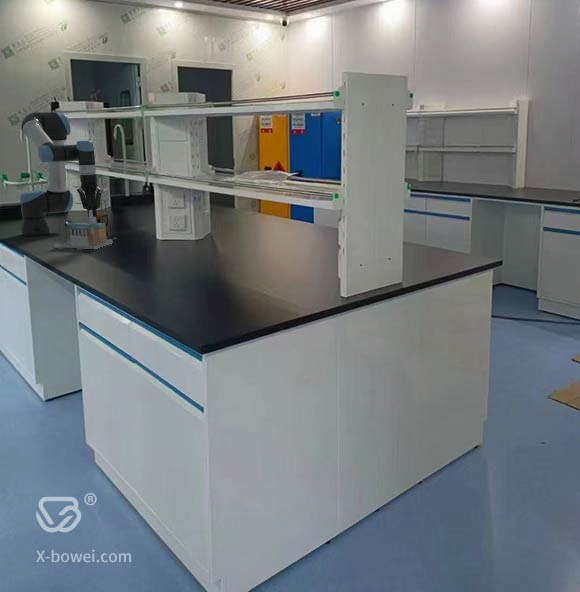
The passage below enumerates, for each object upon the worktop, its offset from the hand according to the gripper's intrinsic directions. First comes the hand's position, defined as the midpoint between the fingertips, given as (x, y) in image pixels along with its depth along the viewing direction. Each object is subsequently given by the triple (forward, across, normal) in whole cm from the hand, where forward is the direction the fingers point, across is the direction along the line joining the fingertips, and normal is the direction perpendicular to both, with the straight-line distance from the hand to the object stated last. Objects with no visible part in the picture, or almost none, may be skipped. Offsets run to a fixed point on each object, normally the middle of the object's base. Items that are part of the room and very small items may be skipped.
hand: (93, 223), depth 302 cm
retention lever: (+2, -6, 0) cm, 6 cm away
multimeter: (+12, -4, +21) cm, 25 cm away
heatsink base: (+11, -6, 0) cm, 13 cm away
